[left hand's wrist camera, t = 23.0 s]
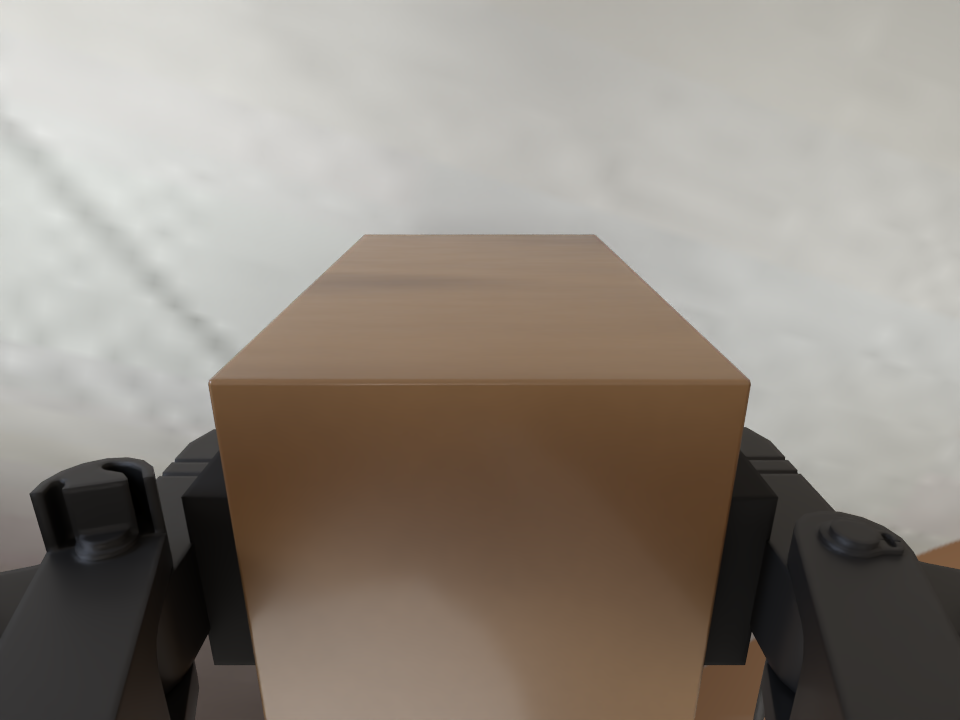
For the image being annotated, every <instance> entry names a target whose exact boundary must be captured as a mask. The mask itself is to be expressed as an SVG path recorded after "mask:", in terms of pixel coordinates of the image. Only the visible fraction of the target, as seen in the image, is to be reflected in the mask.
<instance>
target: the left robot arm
mask: <svg viewBox="0 0 960 720" xmlns="http://www.w3.org/2000/svg"><path fill="white" fill-rule="evenodd" d="M30 497H31V501H32V504H33V507H34V511H35V514H36V517H37V521H38V524H39V527H40V531H41V534H42V537H43V541H44V544H45V548H46V551H47V553H46V555H45V557H44V559H43V560H42V562H41V564H39V565H35V566H31V567H26V568H20V569H15V570H10V571H5V572H0V720H195V714H196V707H197V699H198V692H199V683H198V676H197V671H196V666H195V661H194V659H195V657H196V656H197V654H198V652H199V650H200V648H201V646H202V644H203V643H204V641H205V639H206V637H207V635H209V640H210V645H211V650H212V655H213V660H214V665H256V664H255V658H254V652H253V646H252V640H251V634H250V629H249V623H248V617H247V611H246V605H245V599H244V593H243V587H242V581H241V575H240V569H239V563H238V557H237V551H236V545H235V539H234V534H233V528H232V522H231V516H230V510H229V504H228V498H227V492H226V486H225V480H224V474H223V468H222V462H221V456H220V450H219V445H218V439H217V433H216V429H214V430H212V431H210V432H208V433H207V434H205V435H203V436H201V437H200V438H198V439H196V440H194V441H193V442H191V443H189V444H188V446H187V447H186V448H185V449H184V450H183V451H182V452H181V453H180V454H179V455H178V456H177V458H176V459H175V462H172V463H171V464H170V465H169V466H168V467H167V468H166V470H165V471H164V472H163V475H162V476H159V477H158V478H157V479H156V478H155V474H154V469H153V466H151V465H150V464H148V463H147V462H145V461H144V460H139V459H134V458H128V457H126V458H107V459H102V460H97V461H92V462H87V463H83V464H80V465H77V466H75V467H72V468H69V469H66V470H63V471H61V472H59V473H57V474H55V475H54V476H52V477H50V478H48V479H46V480H45V481H43V482H41V483H40V484H39V485H38V486H37V487H36V488H35V489H34V490H33V491H32V492H31V493H30ZM751 633H753V635H754V636H755V638H756V640H757V642H758V644H759V646H760V647H761V649H762V651H763V653H764V655H765V657H766V661H765V666H764V671H763V675H762V680H761V685H760V690H759V694H758V699H757V704H756V709H755V713H754V719H753V720H763V719H764V717H765V719H766V720H960V570H959V569H954V568H949V567H944V566H939V565H934V564H928V563H924V562H920V561H918V559H917V557H916V556H915V554H914V552H913V551H912V549H911V548H910V547H909V546H908V545H907V544H906V542H905V541H904V540H903V539H902V538H901V537H899V536H898V535H896V534H895V533H893V532H892V531H890V530H889V529H887V528H886V527H884V526H882V525H879V524H877V523H875V522H872V521H870V520H868V519H865V518H863V517H859V516H855V515H851V514H847V513H843V512H835V511H834V509H833V508H832V507H831V506H830V505H829V504H828V503H827V502H826V501H825V500H824V499H823V498H822V496H821V495H820V494H819V493H818V492H817V491H816V490H815V489H814V488H813V487H812V486H811V485H810V483H809V482H808V481H807V480H806V479H805V478H804V477H803V476H802V475H801V474H798V473H797V469H796V468H795V467H794V466H793V465H792V464H791V463H790V462H789V461H788V460H785V456H784V455H783V454H782V453H781V452H780V451H779V450H778V449H777V448H776V447H775V446H774V445H773V443H772V442H771V441H769V440H768V439H766V438H764V437H762V436H761V435H759V434H757V433H755V432H754V431H752V430H750V429H748V428H746V427H744V428H743V434H742V440H741V446H740V452H739V458H738V463H737V469H736V475H735V481H734V487H733V493H732V499H731V505H730V511H729V517H728V523H727V529H726V535H725V541H724V547H723V553H722V559H721V565H720V571H719V577H718V583H717V589H716V595H715V601H714V607H713V612H712V618H711V624H710V630H709V636H708V642H707V648H706V654H705V660H704V665H745V663H746V658H747V653H748V648H749V643H750V638H751Z"/></svg>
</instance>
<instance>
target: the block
mask: <svg viewBox="0 0 960 720" xmlns="http://www.w3.org/2000/svg"><path fill="white" fill-rule="evenodd" d="M208 385H209V391H210V397H211V403H212V409H213V415H214V421H215V427H216V433H217V439H218V445H219V450H220V456H221V462H222V468H223V474H224V480H225V486H226V492H227V498H228V504H229V510H230V516H231V522H232V528H233V534H234V539H235V545H236V551H237V557H238V563H239V569H240V575H241V581H242V587H243V593H244V599H245V605H246V611H247V617H248V623H249V629H250V634H251V640H252V646H253V652H254V658H255V664H256V670H257V676H258V682H259V688H260V694H261V700H262V706H263V712H264V718H265V720H694V719H695V714H696V708H697V702H698V696H699V690H700V684H701V678H702V672H703V666H704V660H705V654H706V648H707V642H708V636H709V630H710V624H711V618H712V612H713V607H714V601H715V595H716V589H717V583H718V577H719V571H720V565H721V559H722V553H723V547H724V541H725V535H726V529H727V523H728V517H729V511H730V505H731V499H732V493H733V487H734V481H735V475H736V469H737V463H738V458H739V452H740V446H741V440H742V434H743V428H744V422H745V416H746V410H747V404H748V398H749V392H750V386H751V383H750V380H749V379H748V378H747V377H746V376H745V375H744V374H743V373H742V372H741V371H740V370H739V369H737V368H736V367H735V366H734V365H733V364H732V363H731V362H730V361H729V360H728V359H727V358H726V357H725V356H724V355H723V354H721V353H720V352H719V351H718V350H717V349H716V348H715V347H714V346H713V345H712V344H711V343H710V342H709V341H708V340H707V339H706V338H704V337H703V336H702V335H701V334H700V333H699V332H698V331H697V330H696V329H695V328H694V327H693V326H692V325H691V324H690V323H689V322H687V321H686V320H685V319H684V318H683V317H682V316H681V315H680V314H679V313H678V312H677V311H676V310H675V309H674V308H673V307H672V306H670V305H669V304H668V303H667V302H666V301H665V300H664V299H663V298H662V297H661V296H660V295H659V294H658V293H657V292H656V291H654V290H653V289H652V288H651V287H650V286H649V285H648V284H647V283H646V282H645V281H644V280H643V279H642V278H641V277H640V276H639V275H637V274H636V273H635V272H634V271H633V270H632V269H631V268H630V267H629V266H628V265H627V264H626V263H625V262H624V261H623V260H622V259H620V258H619V257H618V256H617V255H616V254H615V253H614V252H613V251H612V250H611V249H610V248H609V247H608V246H607V245H606V244H604V243H603V242H602V241H601V240H600V239H599V238H598V237H597V236H596V235H364V236H363V237H362V238H361V239H359V240H358V241H357V242H356V243H355V244H354V245H353V246H352V247H351V248H350V249H349V250H348V251H347V252H346V253H345V254H343V255H342V256H341V257H340V258H339V259H338V260H337V261H336V262H335V263H334V264H333V265H332V266H331V267H330V268H329V269H327V270H326V271H325V272H324V273H323V274H322V275H321V276H320V277H319V278H318V279H317V280H316V281H315V282H314V283H313V284H311V285H310V286H309V287H308V288H307V289H306V290H305V291H304V292H303V293H302V294H301V295H300V296H299V297H298V298H296V299H295V300H294V301H293V302H292V303H291V304H290V305H289V306H288V307H287V308H286V309H285V310H284V311H283V312H282V313H280V314H279V315H278V316H277V317H276V318H275V319H274V320H273V321H272V322H271V323H270V324H269V325H268V326H267V327H266V328H264V329H263V330H262V331H261V332H260V333H259V334H258V335H257V336H256V337H255V338H254V339H253V340H252V341H251V342H250V343H248V344H247V345H246V346H245V347H244V348H243V349H242V350H241V351H240V352H239V353H238V354H237V355H236V356H235V357H233V358H232V359H231V360H230V361H229V362H228V363H227V364H226V365H225V366H224V367H223V368H222V369H221V370H220V371H219V372H217V373H216V374H215V375H214V376H213V377H212V378H211V379H210V380H209V383H208Z"/></svg>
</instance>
